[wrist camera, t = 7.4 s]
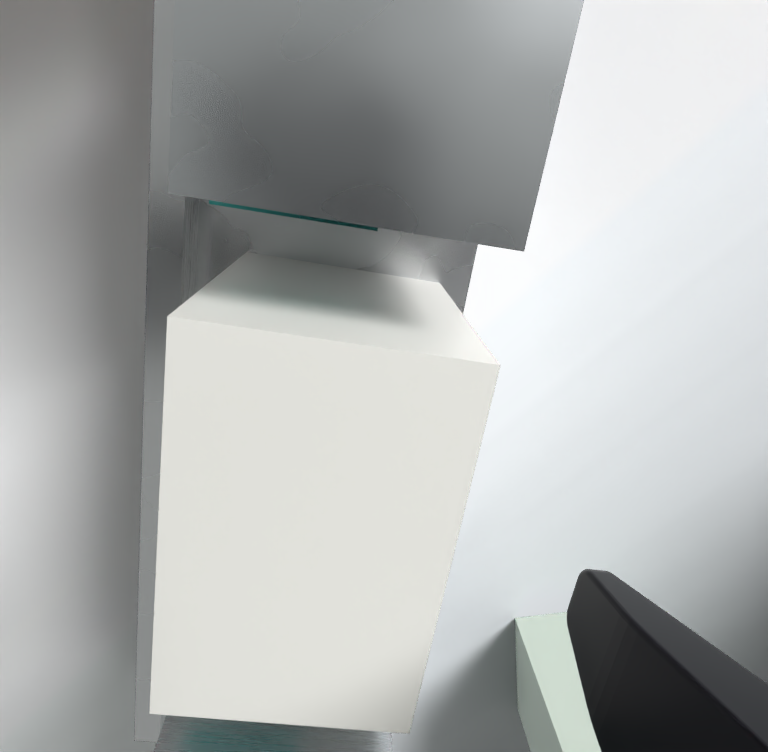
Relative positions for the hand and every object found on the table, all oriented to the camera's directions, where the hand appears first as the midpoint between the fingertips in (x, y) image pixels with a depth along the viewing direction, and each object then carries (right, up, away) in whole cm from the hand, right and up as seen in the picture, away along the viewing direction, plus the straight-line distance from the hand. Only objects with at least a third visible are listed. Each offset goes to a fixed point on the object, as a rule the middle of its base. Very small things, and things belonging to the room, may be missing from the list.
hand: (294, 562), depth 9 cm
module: (0, +2, +6) cm, 6 cm away
